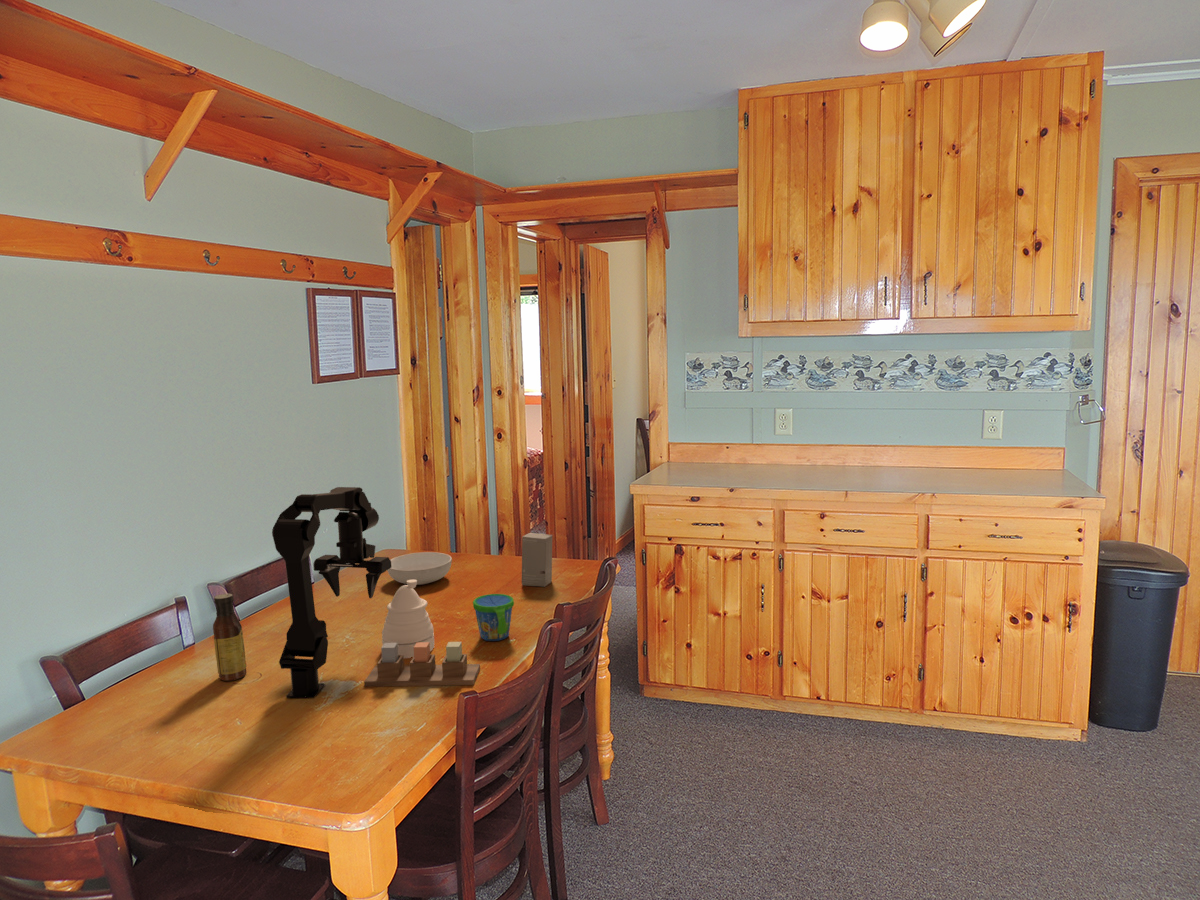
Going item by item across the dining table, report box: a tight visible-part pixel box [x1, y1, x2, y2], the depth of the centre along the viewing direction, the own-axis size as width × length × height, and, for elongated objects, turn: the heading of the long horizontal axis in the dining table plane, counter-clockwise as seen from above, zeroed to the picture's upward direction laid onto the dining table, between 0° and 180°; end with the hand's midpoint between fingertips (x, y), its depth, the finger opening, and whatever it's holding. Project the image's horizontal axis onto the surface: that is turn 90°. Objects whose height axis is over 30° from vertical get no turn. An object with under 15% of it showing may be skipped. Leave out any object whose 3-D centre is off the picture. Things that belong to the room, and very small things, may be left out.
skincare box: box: [521, 532, 553, 588], centre depth 258 cm, size 8×7×16 cm
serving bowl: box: [386, 551, 453, 586], centre depth 264 cm, size 21×21×7 cm
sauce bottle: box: [212, 593, 247, 682], centre depth 191 cm, size 7×6×20 cm
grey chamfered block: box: [380, 643, 399, 663], centre depth 189 cm, size 3×3×5 cm
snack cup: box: [472, 593, 515, 642], centre depth 213 cm, size 16×10×10 cm
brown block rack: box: [363, 653, 481, 687], centre depth 189 cm, size 9×25×5 cm, turn 89°
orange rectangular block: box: [414, 642, 431, 662], centre depth 188 cm, size 3×3×5 cm
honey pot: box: [381, 579, 435, 659], centre depth 206 cm, size 13×13×18 cm
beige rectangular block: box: [445, 641, 463, 662], centre depth 188 cm, size 3×3×5 cm
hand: (354, 596), depth 205 cm, fingers open, 9 cm apart
